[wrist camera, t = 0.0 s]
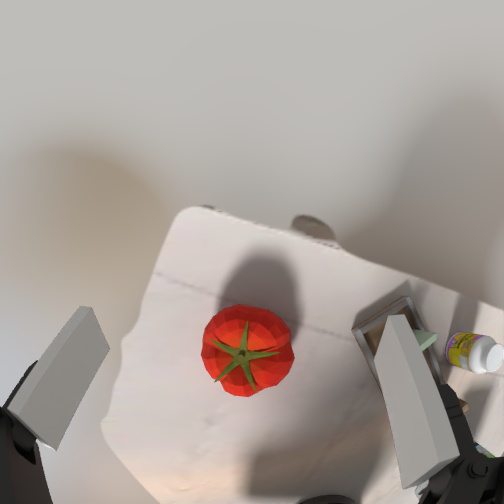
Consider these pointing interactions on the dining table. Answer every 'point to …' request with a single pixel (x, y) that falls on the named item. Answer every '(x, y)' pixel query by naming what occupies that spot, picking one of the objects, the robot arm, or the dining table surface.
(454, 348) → the supplement bottle
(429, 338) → the pusher
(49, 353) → the robot arm
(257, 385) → the tomato
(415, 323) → the lane
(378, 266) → the dining table surface
